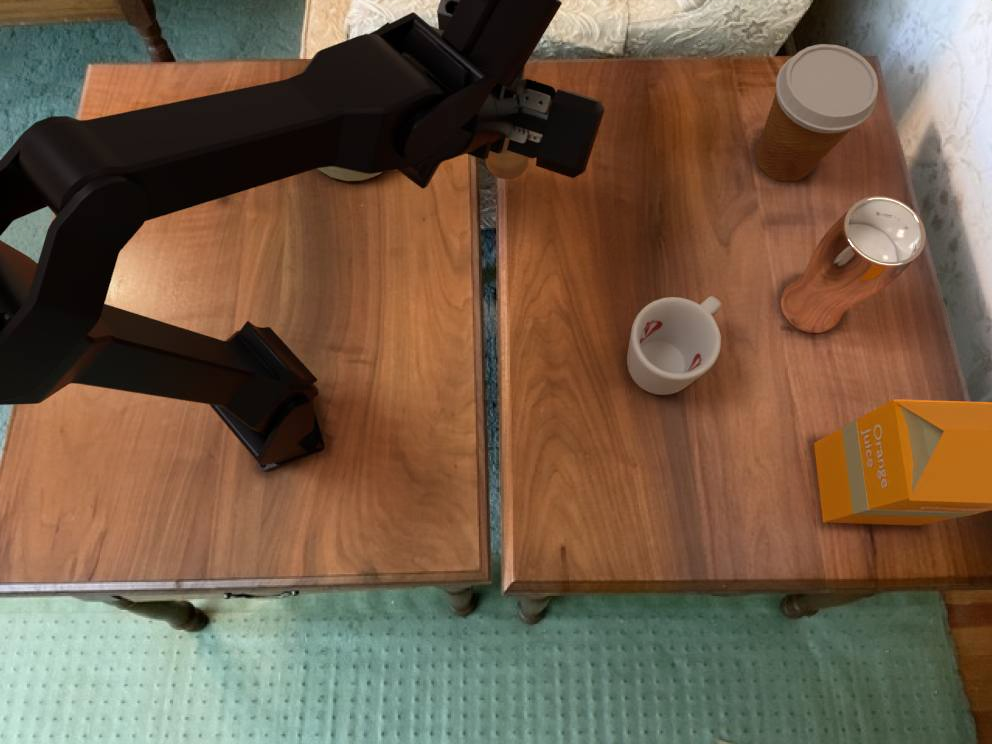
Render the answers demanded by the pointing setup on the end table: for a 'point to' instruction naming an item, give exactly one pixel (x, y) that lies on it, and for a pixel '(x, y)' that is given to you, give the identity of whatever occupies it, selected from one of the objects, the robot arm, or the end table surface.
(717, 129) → the end table surface
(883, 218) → the beer glass
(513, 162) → the rod
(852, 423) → the orange juice
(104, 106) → the end table surface
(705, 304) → the cup
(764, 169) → the disposable coffee cup
